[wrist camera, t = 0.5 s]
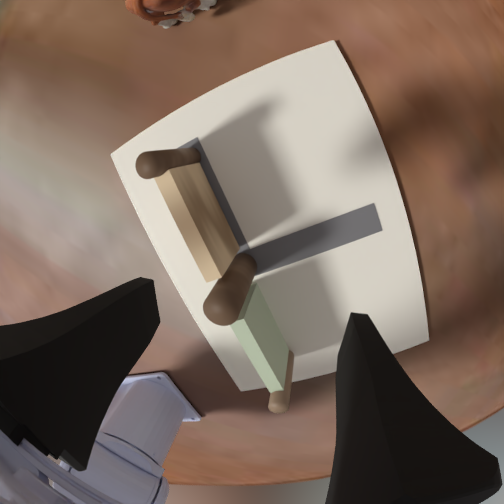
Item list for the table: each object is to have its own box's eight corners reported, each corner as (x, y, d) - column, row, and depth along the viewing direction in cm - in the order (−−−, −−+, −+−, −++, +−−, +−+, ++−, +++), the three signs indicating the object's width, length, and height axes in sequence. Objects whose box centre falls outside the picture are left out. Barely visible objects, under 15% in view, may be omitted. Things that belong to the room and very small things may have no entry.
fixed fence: (261, 273, 21) (245, 320, 15) (237, 281, 21) (213, 329, 16) (200, 142, 18) (156, 143, 12) (175, 155, 19) (127, 162, 13)
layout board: (241, 388, 26) (241, 391, 26) (113, 154, 20) (110, 154, 19) (427, 337, 21) (429, 340, 20) (333, 42, 14) (333, 39, 14)
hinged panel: (241, 287, 21) (221, 333, 16) (259, 282, 20) (243, 327, 15) (280, 363, 23) (272, 414, 18) (296, 359, 22) (291, 411, 17)
